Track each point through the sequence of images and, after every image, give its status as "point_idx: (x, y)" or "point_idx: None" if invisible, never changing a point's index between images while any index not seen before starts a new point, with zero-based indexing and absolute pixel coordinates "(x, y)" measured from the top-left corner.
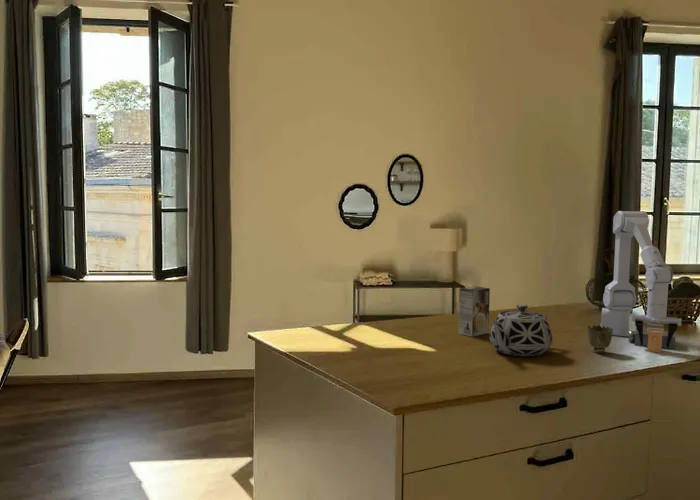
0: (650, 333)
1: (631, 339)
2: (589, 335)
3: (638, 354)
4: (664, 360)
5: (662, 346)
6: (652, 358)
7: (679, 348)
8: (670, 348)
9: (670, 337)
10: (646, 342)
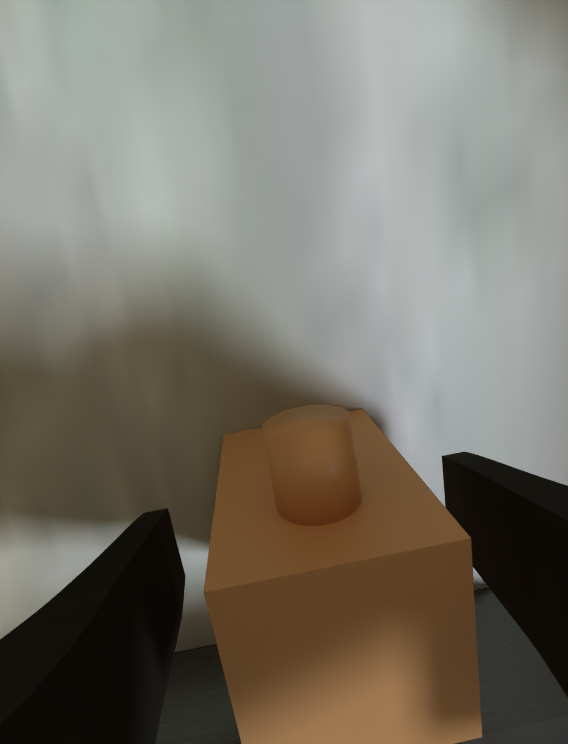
0: (428, 539)
1: None
2: None
3: (433, 169)
4: (92, 6)
5: None
6: (251, 34)
7: None
8: (177, 654)
9: (66, 598)
10: None
